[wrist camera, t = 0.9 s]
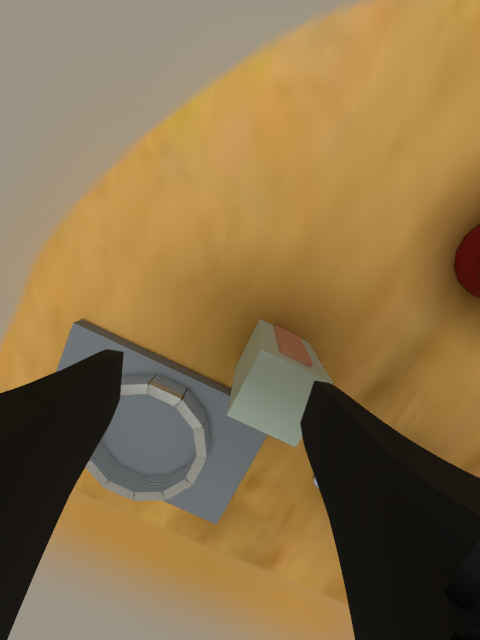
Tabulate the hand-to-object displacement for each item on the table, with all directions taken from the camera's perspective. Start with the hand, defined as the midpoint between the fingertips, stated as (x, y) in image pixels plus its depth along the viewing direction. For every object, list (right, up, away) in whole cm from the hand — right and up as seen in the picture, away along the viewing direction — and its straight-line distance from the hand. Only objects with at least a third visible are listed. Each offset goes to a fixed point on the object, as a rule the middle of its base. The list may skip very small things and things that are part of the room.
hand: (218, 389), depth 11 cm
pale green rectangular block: (+3, 0, +13) cm, 14 cm away
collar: (-8, -6, +14) cm, 17 cm away
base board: (-7, -6, +15) cm, 18 cm away
